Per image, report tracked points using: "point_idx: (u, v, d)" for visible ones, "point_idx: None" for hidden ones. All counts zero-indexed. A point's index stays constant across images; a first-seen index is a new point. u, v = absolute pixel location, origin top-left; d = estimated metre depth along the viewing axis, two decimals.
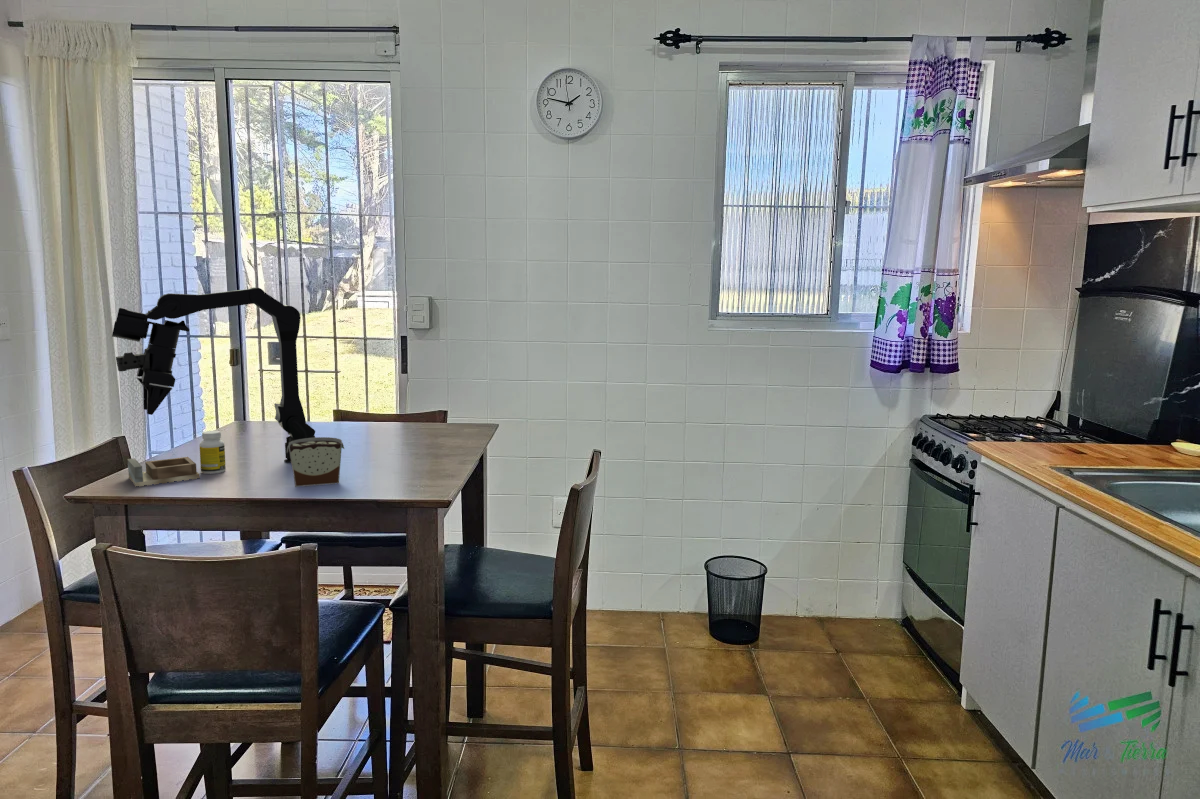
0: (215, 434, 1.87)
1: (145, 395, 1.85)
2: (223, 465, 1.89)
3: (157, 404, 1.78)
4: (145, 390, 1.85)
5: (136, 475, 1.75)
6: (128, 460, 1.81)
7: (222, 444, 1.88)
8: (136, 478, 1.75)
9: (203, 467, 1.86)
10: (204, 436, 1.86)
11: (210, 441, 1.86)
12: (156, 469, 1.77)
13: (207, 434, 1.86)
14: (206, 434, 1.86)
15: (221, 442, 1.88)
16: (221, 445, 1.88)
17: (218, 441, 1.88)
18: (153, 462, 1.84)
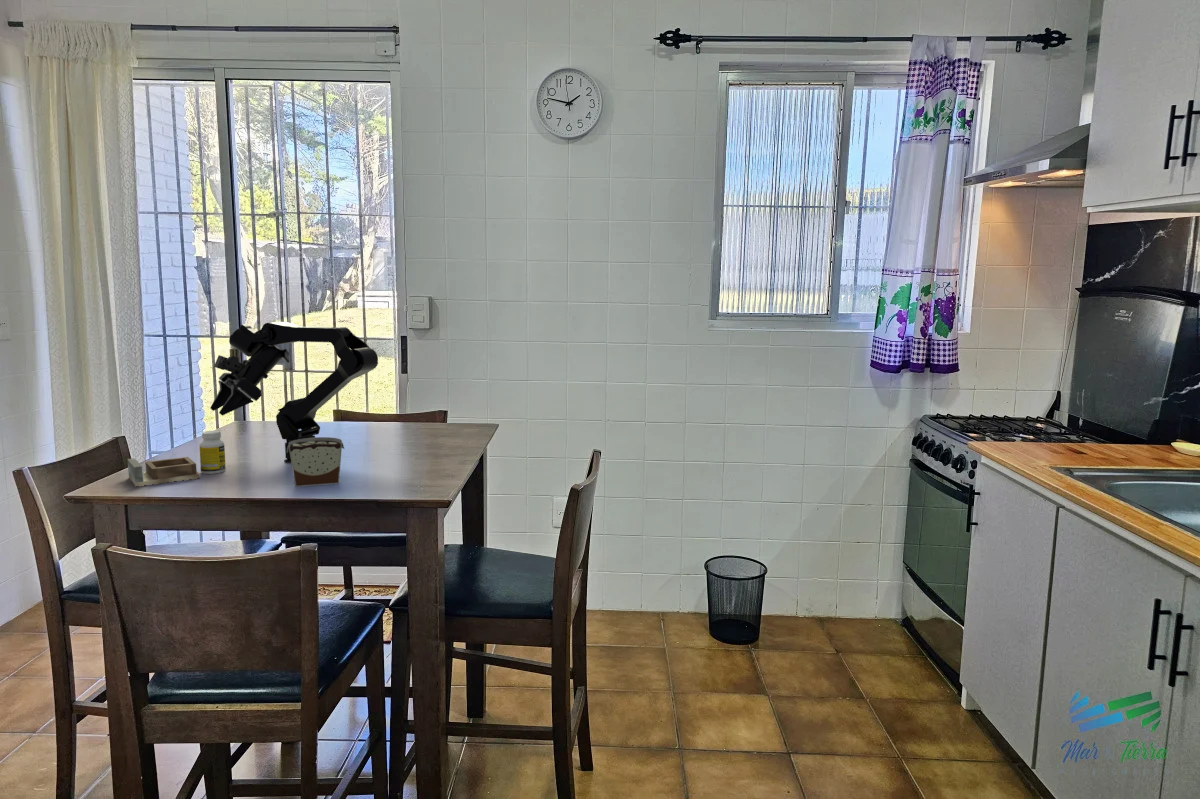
0: (215, 434, 1.87)
1: (218, 397, 1.99)
2: (223, 465, 1.89)
3: (232, 409, 1.92)
4: (221, 393, 1.99)
5: (136, 475, 1.75)
6: (128, 460, 1.81)
7: (222, 444, 1.88)
8: (136, 478, 1.75)
9: (203, 467, 1.86)
10: (204, 436, 1.86)
11: (210, 441, 1.86)
12: (156, 469, 1.77)
13: (207, 434, 1.86)
14: (206, 434, 1.86)
15: (221, 442, 1.88)
16: (221, 445, 1.88)
17: (218, 441, 1.88)
18: (153, 462, 1.84)
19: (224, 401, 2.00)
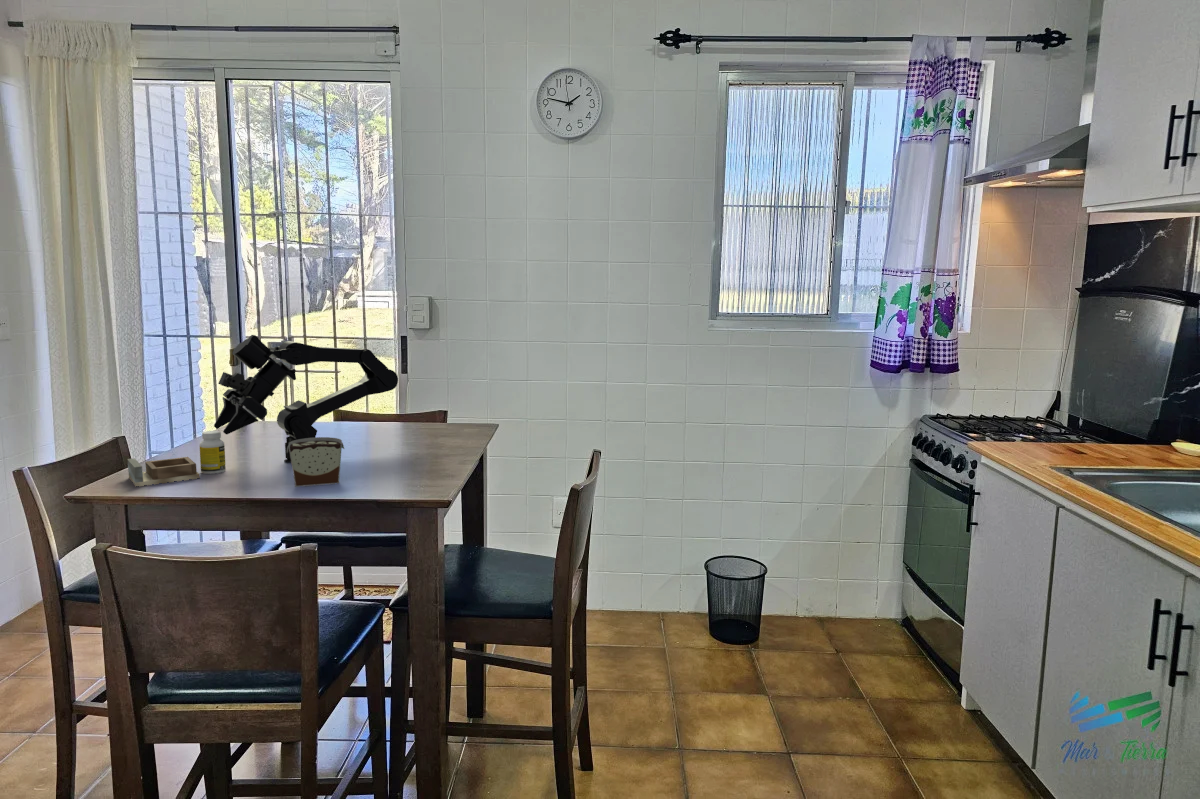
0: (215, 434, 1.87)
1: (222, 415, 1.93)
2: (223, 465, 1.89)
3: (236, 428, 1.86)
4: (225, 410, 1.93)
5: (136, 475, 1.75)
6: (128, 460, 1.81)
7: (222, 444, 1.88)
8: (136, 478, 1.75)
9: (203, 467, 1.86)
10: (204, 436, 1.86)
11: (210, 441, 1.86)
12: (156, 469, 1.77)
13: (207, 434, 1.86)
14: (206, 434, 1.86)
15: (221, 442, 1.88)
16: (221, 445, 1.88)
17: (218, 441, 1.88)
18: (153, 462, 1.84)
19: (228, 419, 1.94)
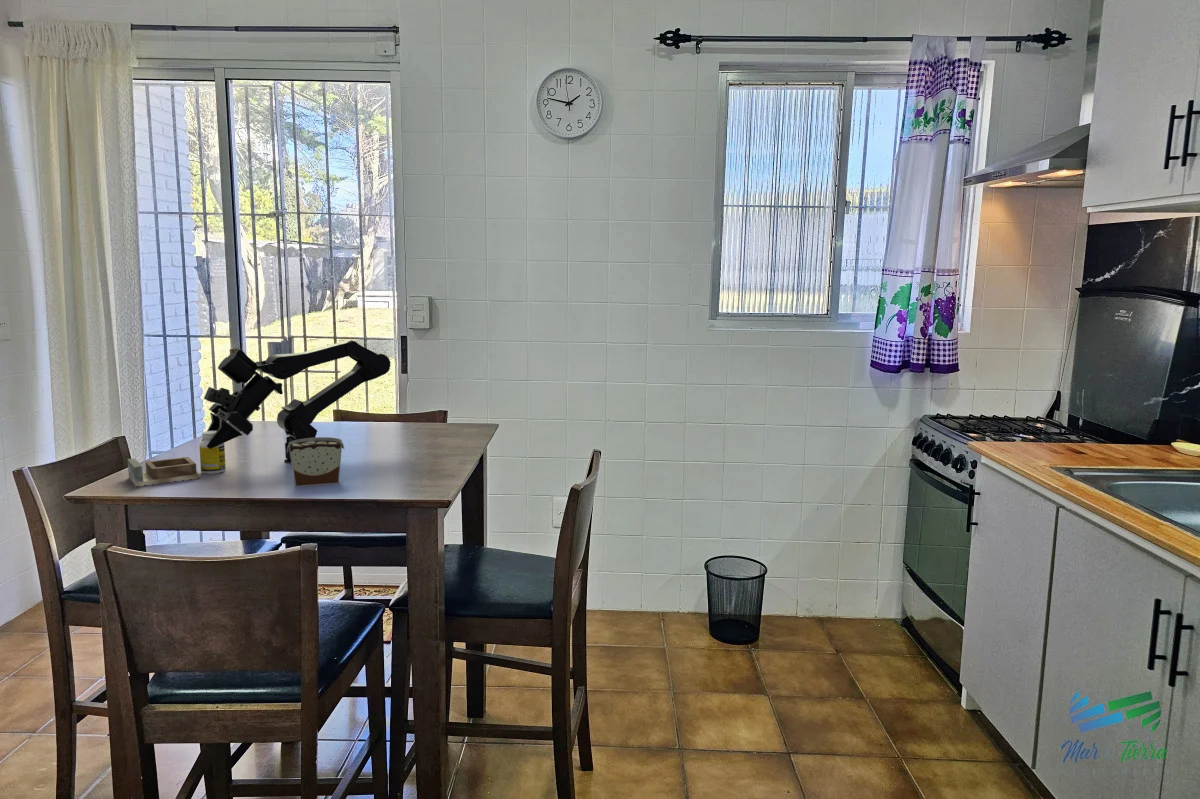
0: None
1: None
2: (223, 465, 1.89)
3: (220, 442, 1.86)
4: (212, 426, 1.91)
5: (136, 475, 1.75)
6: (128, 460, 1.81)
7: (222, 444, 1.88)
8: (136, 478, 1.75)
9: (203, 467, 1.86)
10: (204, 436, 1.86)
11: None
12: (156, 469, 1.77)
13: (207, 434, 1.86)
14: (206, 434, 1.86)
15: None
16: (221, 445, 1.87)
17: None
18: (153, 462, 1.84)
19: None
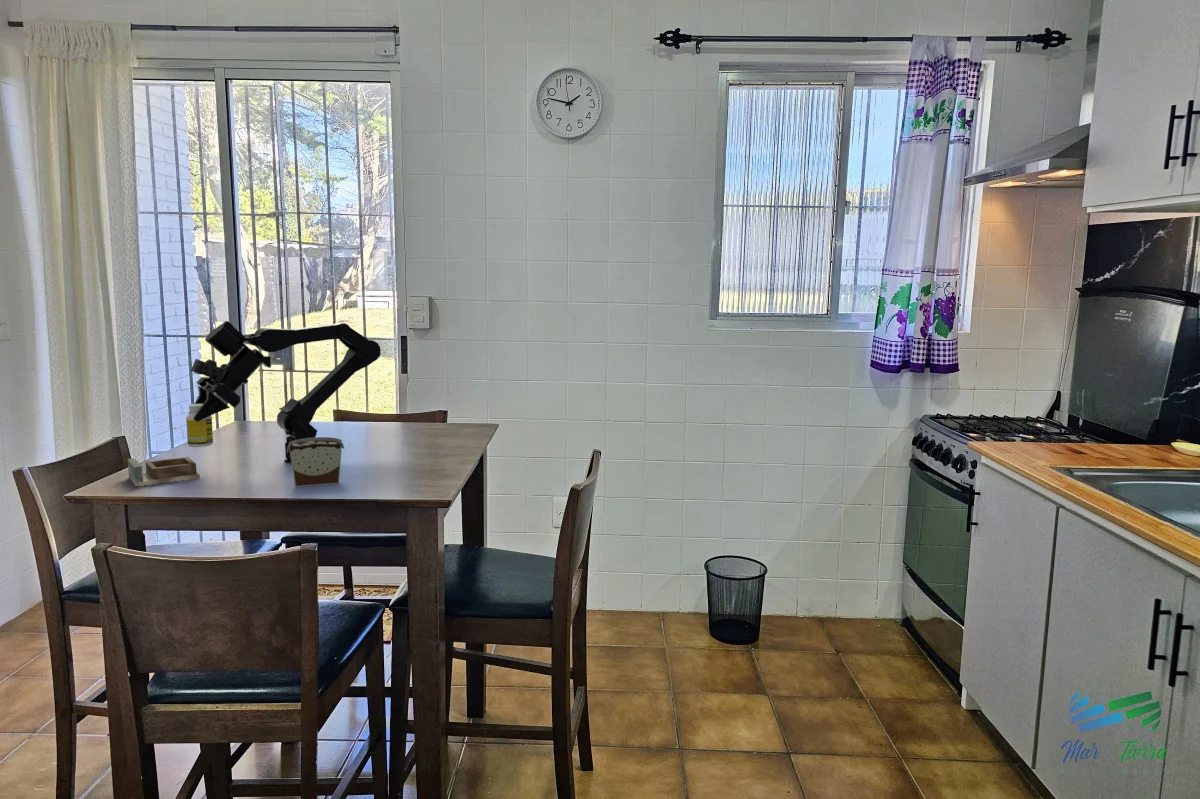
0: None
1: None
2: (210, 438, 1.86)
3: (207, 414, 1.83)
4: (199, 399, 1.88)
5: (136, 475, 1.75)
6: (128, 460, 1.81)
7: (209, 417, 1.85)
8: (136, 478, 1.75)
9: (190, 440, 1.84)
10: (191, 408, 1.83)
11: None
12: (156, 469, 1.77)
13: (194, 406, 1.83)
14: (193, 406, 1.83)
15: None
16: (208, 418, 1.85)
17: None
18: (153, 462, 1.84)
19: None
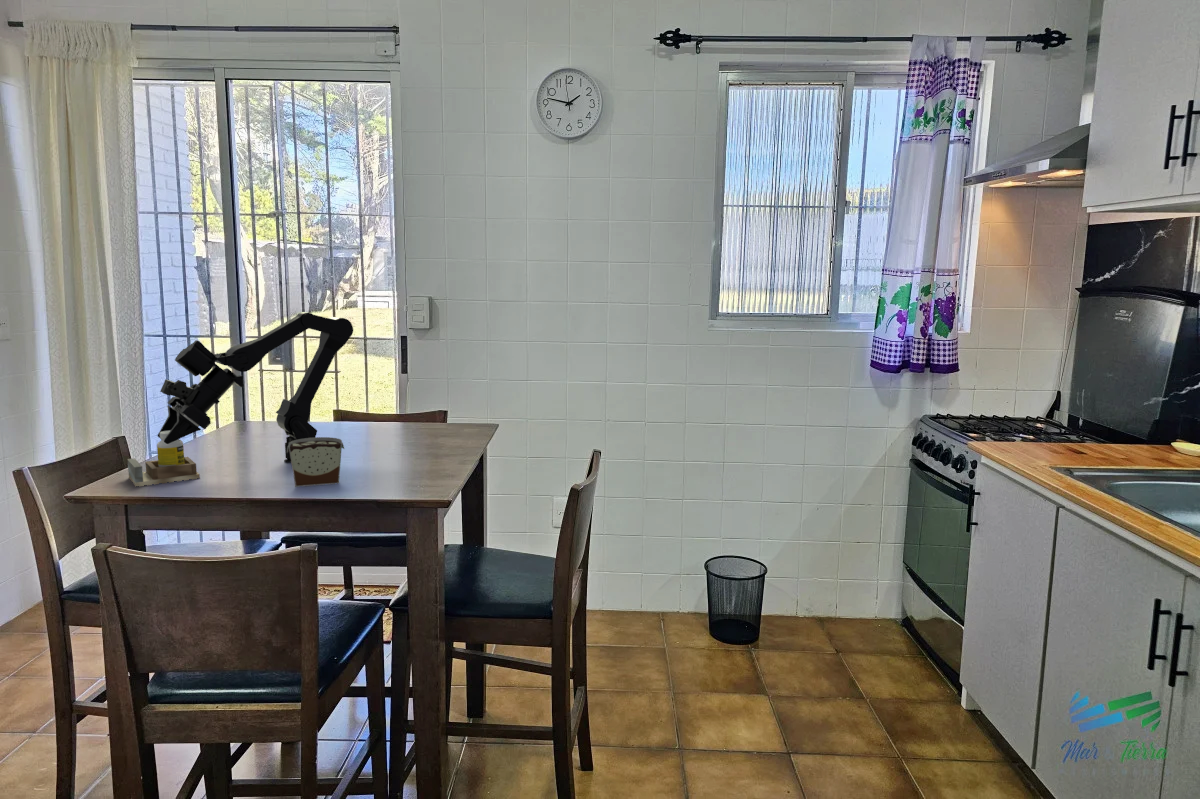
0: None
1: (166, 424, 1.85)
2: None
3: (178, 437, 1.79)
4: (169, 420, 1.85)
5: (136, 475, 1.75)
6: (128, 460, 1.81)
7: (180, 444, 1.82)
8: (136, 478, 1.75)
9: None
10: (161, 436, 1.80)
11: None
12: (156, 469, 1.77)
13: (164, 434, 1.80)
14: (163, 434, 1.80)
15: (179, 442, 1.82)
16: (179, 445, 1.82)
17: (176, 440, 1.82)
18: (153, 462, 1.84)
19: (173, 428, 1.86)
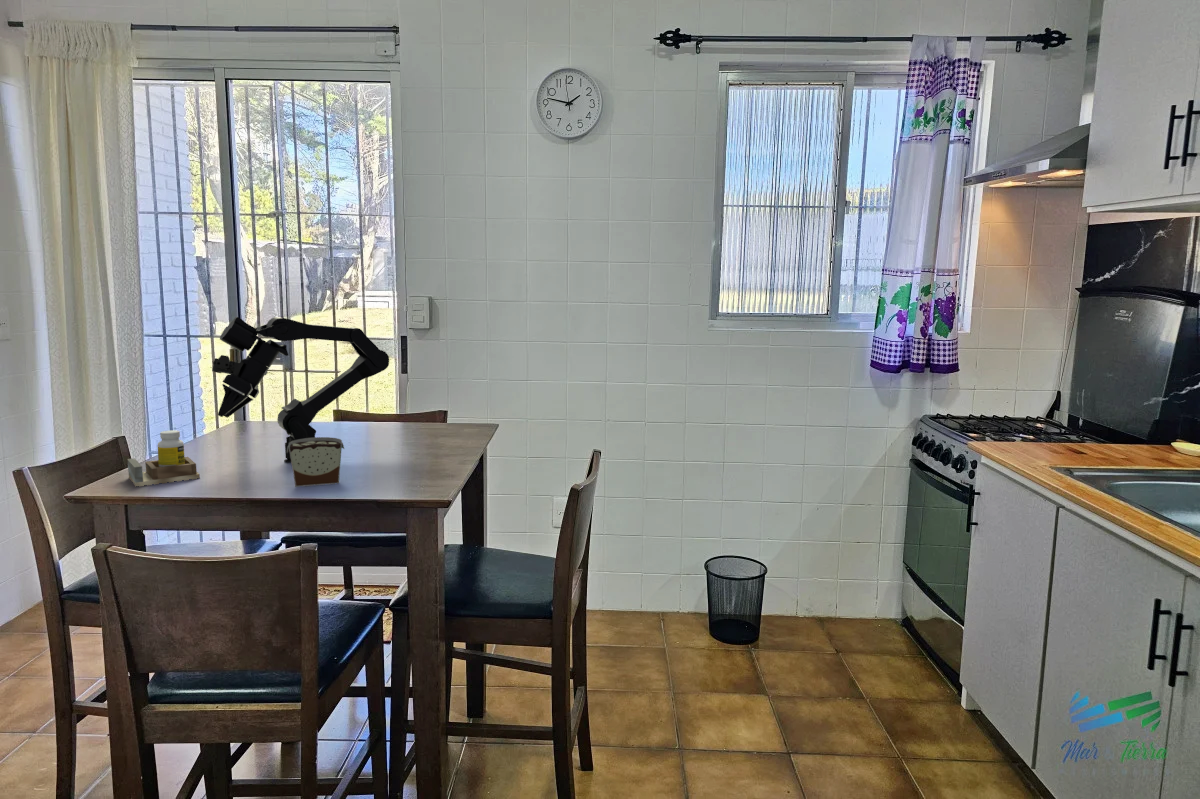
0: (173, 434, 1.81)
1: None
2: None
3: (229, 408, 1.86)
4: None
5: (136, 475, 1.75)
6: (128, 460, 1.81)
7: (181, 444, 1.82)
8: (136, 478, 1.75)
9: None
10: (162, 436, 1.80)
11: (168, 441, 1.81)
12: (156, 469, 1.77)
13: (165, 434, 1.80)
14: (164, 434, 1.80)
15: (180, 442, 1.82)
16: (180, 445, 1.82)
17: (177, 441, 1.82)
18: (153, 462, 1.84)
19: (236, 406, 1.95)
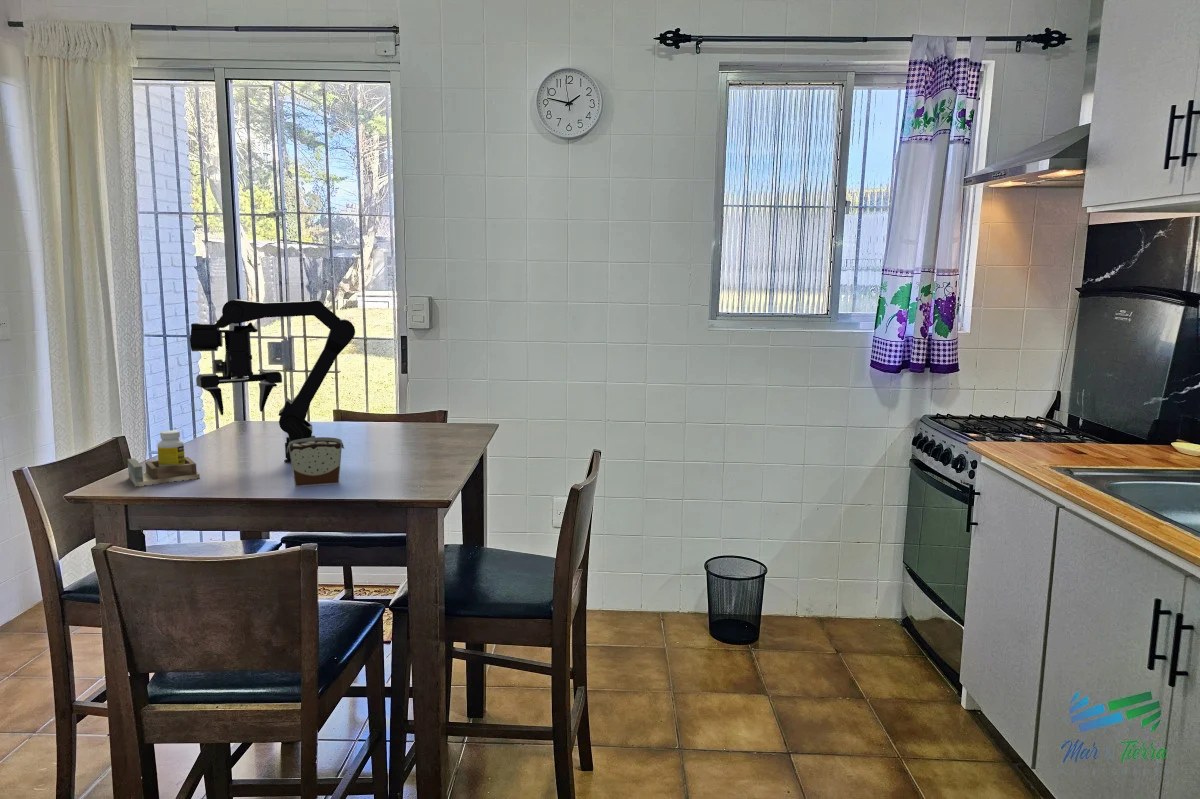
0: (174, 434, 1.81)
1: None
2: None
3: (218, 405, 1.91)
4: (260, 393, 1.99)
5: (136, 475, 1.75)
6: (128, 460, 1.81)
7: (181, 444, 1.82)
8: (136, 478, 1.75)
9: None
10: (162, 436, 1.80)
11: (168, 441, 1.81)
12: (156, 469, 1.77)
13: (165, 434, 1.80)
14: (164, 434, 1.80)
15: (180, 442, 1.82)
16: (180, 445, 1.82)
17: (177, 441, 1.82)
18: (153, 462, 1.84)
19: (261, 398, 1.97)
